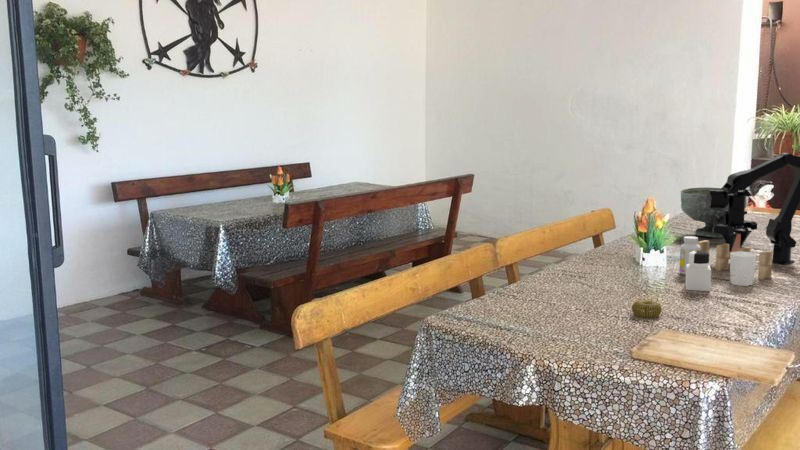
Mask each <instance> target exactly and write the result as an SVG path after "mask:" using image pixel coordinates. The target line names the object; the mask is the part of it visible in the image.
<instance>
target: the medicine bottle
mask: <svg viewBox="0 0 800 450" xmlns="http://www.w3.org/2000/svg"><path fill="white" fill-rule="evenodd" d="M711 279H712V269H711V265H710V252H709V253H707V252H704V251H692V252H690V253H689V264H686V275H685V290H686V291H695V292H696V291H697V292H700V291H701V292H710V291H711V284H712V283H711V281H712V280H711Z"/></svg>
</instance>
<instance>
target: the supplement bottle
mask: <svg viewBox="0 0 800 450" xmlns="http://www.w3.org/2000/svg"><path fill="white" fill-rule="evenodd" d="M683 242H684V243H682V244H681V245H680V249H679V250H680V251H679V252H680V253H679V273H680V274H681V275H685V276H686V264H689V253H690V252H692V251H701V247H700V245H698V244H697V242H699V237H698V236H691V235H690V236H687V235H686V236H683Z"/></svg>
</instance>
